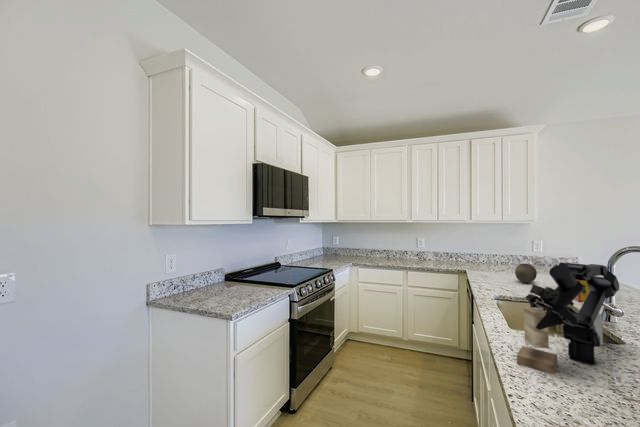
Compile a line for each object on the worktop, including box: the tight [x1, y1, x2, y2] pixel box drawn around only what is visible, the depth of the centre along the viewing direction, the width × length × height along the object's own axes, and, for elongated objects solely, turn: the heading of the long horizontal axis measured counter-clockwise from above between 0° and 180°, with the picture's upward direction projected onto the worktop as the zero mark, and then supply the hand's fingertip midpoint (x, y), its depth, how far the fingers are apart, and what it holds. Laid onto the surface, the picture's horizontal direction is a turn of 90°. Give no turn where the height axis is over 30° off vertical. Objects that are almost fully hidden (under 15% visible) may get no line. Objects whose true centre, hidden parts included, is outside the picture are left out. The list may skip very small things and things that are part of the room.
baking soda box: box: [575, 280, 590, 303], centre depth 177 cm, size 10×6×16 cm
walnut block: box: [516, 345, 558, 375], centre depth 102 cm, size 10×10×4 cm
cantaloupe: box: [514, 263, 538, 284], centre depth 226 cm, size 14×14×15 cm
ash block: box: [523, 307, 550, 349], centre depth 102 cm, size 4×6×12 cm
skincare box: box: [594, 312, 604, 346], centre depth 119 cm, size 6×4×12 cm
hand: (531, 325), depth 102 cm, fingers closed on ash block, 5 cm apart
